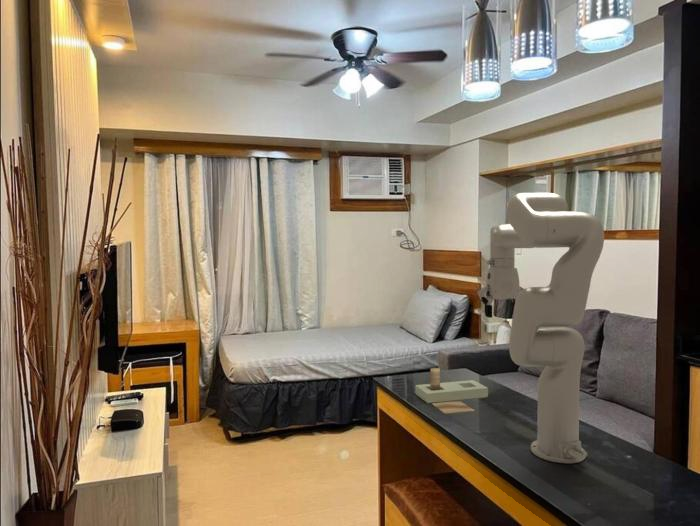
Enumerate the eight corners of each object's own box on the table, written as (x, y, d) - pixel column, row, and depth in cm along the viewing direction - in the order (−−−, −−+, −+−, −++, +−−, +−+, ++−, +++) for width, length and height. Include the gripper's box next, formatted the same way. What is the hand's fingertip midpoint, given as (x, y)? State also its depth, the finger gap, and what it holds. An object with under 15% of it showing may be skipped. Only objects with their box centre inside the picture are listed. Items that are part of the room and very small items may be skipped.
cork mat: (475, 412, 154) (475, 410, 154) (445, 415, 152) (445, 413, 152) (459, 402, 164) (459, 400, 164) (431, 405, 161) (431, 403, 161)
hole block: (488, 398, 168) (488, 387, 167) (427, 404, 162) (427, 393, 162) (473, 389, 177) (473, 380, 177) (415, 395, 172) (415, 385, 171)
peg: (441, 399, 167) (441, 369, 166) (432, 400, 166) (432, 370, 166) (437, 396, 170) (437, 367, 170) (428, 397, 169) (428, 368, 169)
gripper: (484, 264, 155) (484, 319, 156) (532, 263, 160) (532, 316, 161) (472, 263, 163) (472, 316, 163) (518, 262, 167) (518, 313, 168)
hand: (502, 316), depth 162 cm, fingers open, 9 cm apart
